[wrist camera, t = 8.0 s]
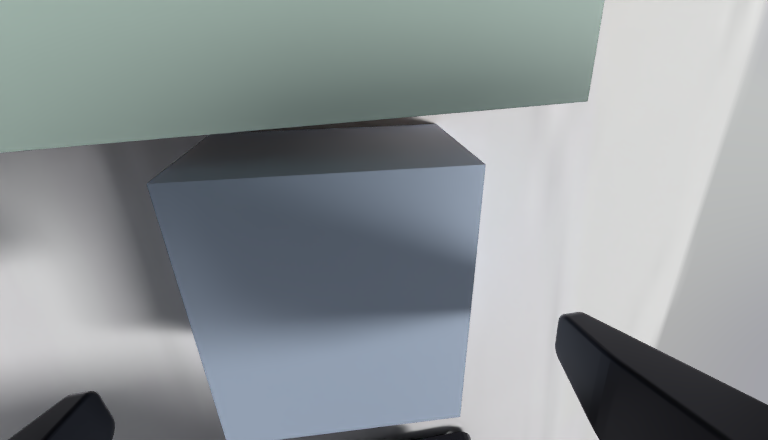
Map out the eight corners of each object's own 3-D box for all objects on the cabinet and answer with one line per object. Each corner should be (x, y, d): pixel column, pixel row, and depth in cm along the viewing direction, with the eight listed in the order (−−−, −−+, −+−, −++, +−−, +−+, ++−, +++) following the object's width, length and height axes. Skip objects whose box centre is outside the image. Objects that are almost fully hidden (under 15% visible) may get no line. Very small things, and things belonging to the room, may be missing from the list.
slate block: (426, 317, 14) (460, 416, 10) (256, 334, 13) (227, 446, 9) (434, 122, 11) (485, 164, 7) (213, 132, 10) (146, 184, 6)
